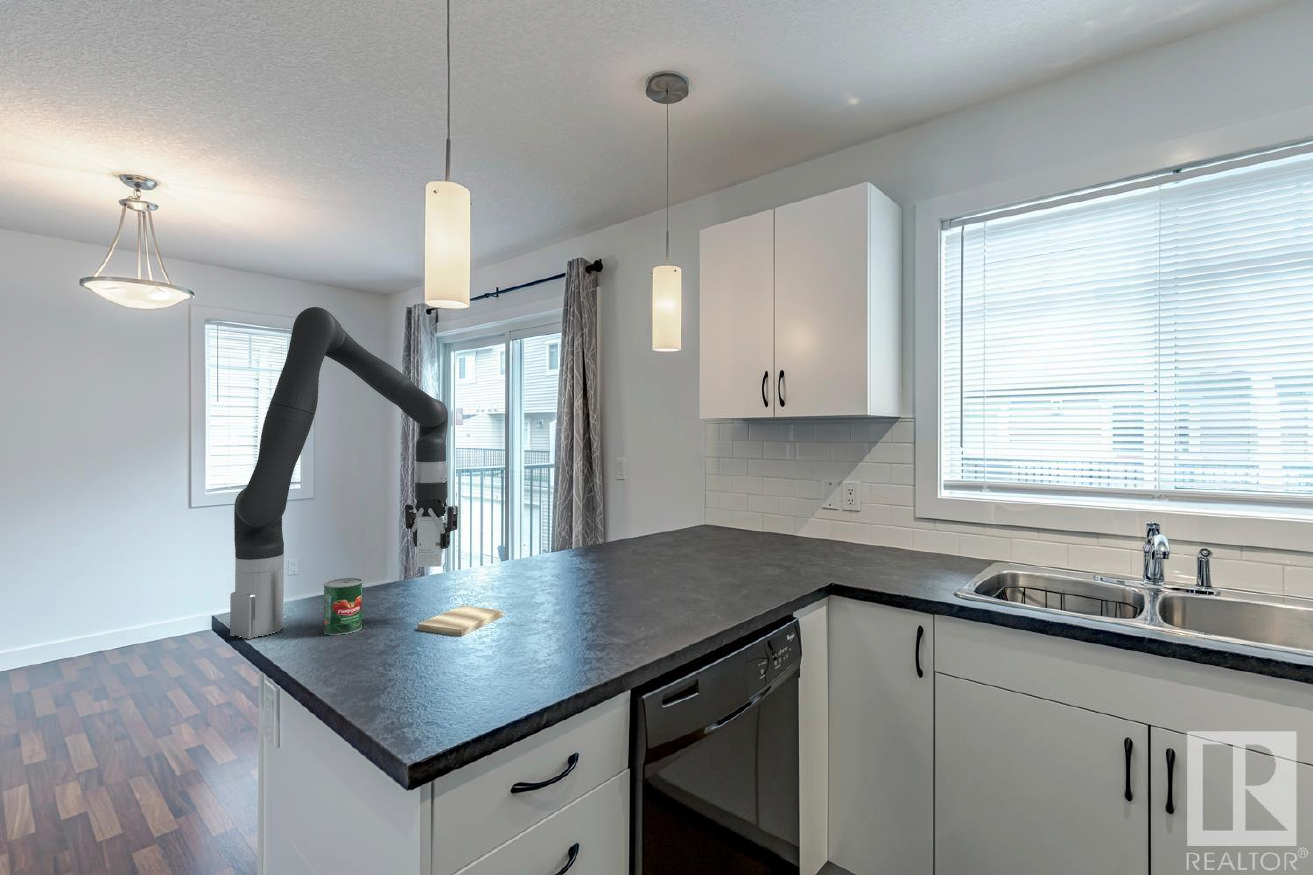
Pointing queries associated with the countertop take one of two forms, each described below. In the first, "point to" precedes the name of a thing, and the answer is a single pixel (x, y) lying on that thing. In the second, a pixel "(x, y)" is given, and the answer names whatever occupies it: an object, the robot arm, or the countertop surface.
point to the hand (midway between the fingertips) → (431, 547)
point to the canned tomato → (342, 606)
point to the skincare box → (429, 543)
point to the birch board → (460, 620)
